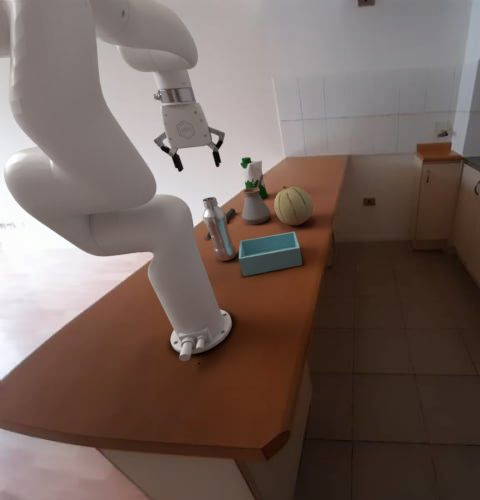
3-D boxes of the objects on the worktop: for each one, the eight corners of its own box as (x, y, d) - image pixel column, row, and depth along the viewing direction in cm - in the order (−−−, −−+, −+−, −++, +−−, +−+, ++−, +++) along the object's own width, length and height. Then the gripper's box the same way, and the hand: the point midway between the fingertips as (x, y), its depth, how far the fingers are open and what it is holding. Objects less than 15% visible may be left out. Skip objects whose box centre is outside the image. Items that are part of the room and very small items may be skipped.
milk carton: (245, 200, 138) (235, 158, 128) (258, 194, 144) (250, 154, 134) (257, 202, 134) (248, 159, 124) (270, 196, 140) (263, 155, 130)
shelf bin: (302, 265, 83) (299, 247, 80) (243, 276, 80) (238, 258, 77) (297, 247, 93) (294, 231, 90) (244, 257, 90) (240, 240, 86)
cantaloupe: (312, 231, 102) (307, 192, 95) (273, 232, 104) (265, 193, 96) (316, 215, 115) (313, 179, 108) (282, 216, 116) (276, 181, 109)
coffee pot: (266, 226, 109) (259, 189, 102) (239, 226, 110) (229, 190, 103) (281, 206, 127) (275, 173, 120) (257, 206, 129) (250, 174, 121)
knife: (229, 211, 123) (230, 206, 122) (238, 216, 124) (240, 211, 122) (196, 236, 102) (198, 231, 101) (208, 243, 103) (210, 237, 102)
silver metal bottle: (231, 264, 86) (213, 203, 76) (212, 262, 88) (192, 203, 78) (241, 253, 92) (225, 195, 82) (223, 252, 93) (205, 195, 83)
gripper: (134, 101, 63) (162, 175, 72) (213, 95, 66) (231, 167, 75) (144, 100, 69) (169, 169, 78) (216, 95, 73) (232, 161, 81)
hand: (199, 168), depth 77 cm, fingers open, 9 cm apart
